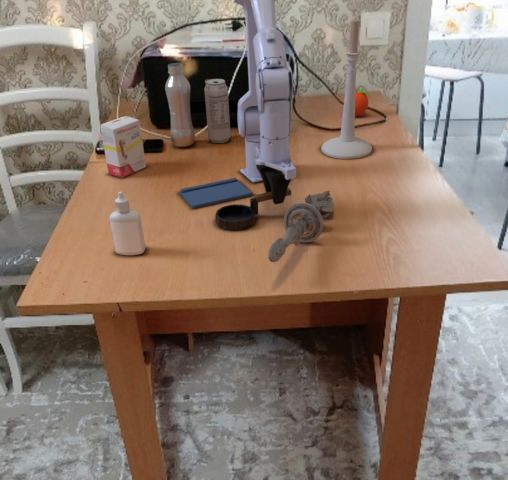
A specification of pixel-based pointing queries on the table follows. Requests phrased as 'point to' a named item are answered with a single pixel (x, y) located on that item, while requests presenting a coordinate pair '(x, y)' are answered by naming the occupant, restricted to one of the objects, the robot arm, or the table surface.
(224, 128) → the energy drink can
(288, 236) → the spaceship
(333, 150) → the candlestick
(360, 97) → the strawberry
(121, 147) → the ink box
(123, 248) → the eye dropper bottle
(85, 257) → the table surface
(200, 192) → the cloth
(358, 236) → the table surface
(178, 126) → the plastic bottle
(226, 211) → the pan
